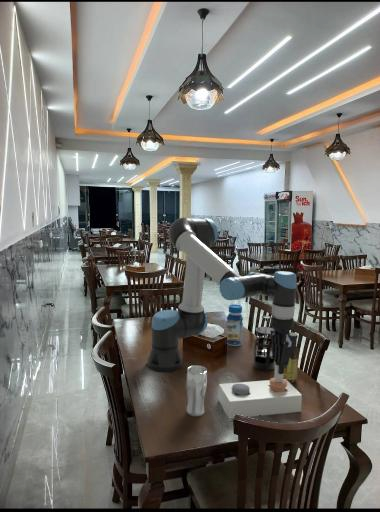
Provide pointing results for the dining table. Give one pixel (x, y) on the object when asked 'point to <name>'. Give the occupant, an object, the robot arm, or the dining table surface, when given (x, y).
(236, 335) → the beverage bottle
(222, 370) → the dining table surface
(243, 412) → the block
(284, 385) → the terracotta plug
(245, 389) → the grey plug
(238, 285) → the robot arm
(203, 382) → the beer glass
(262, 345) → the french press
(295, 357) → the sauce bottle
